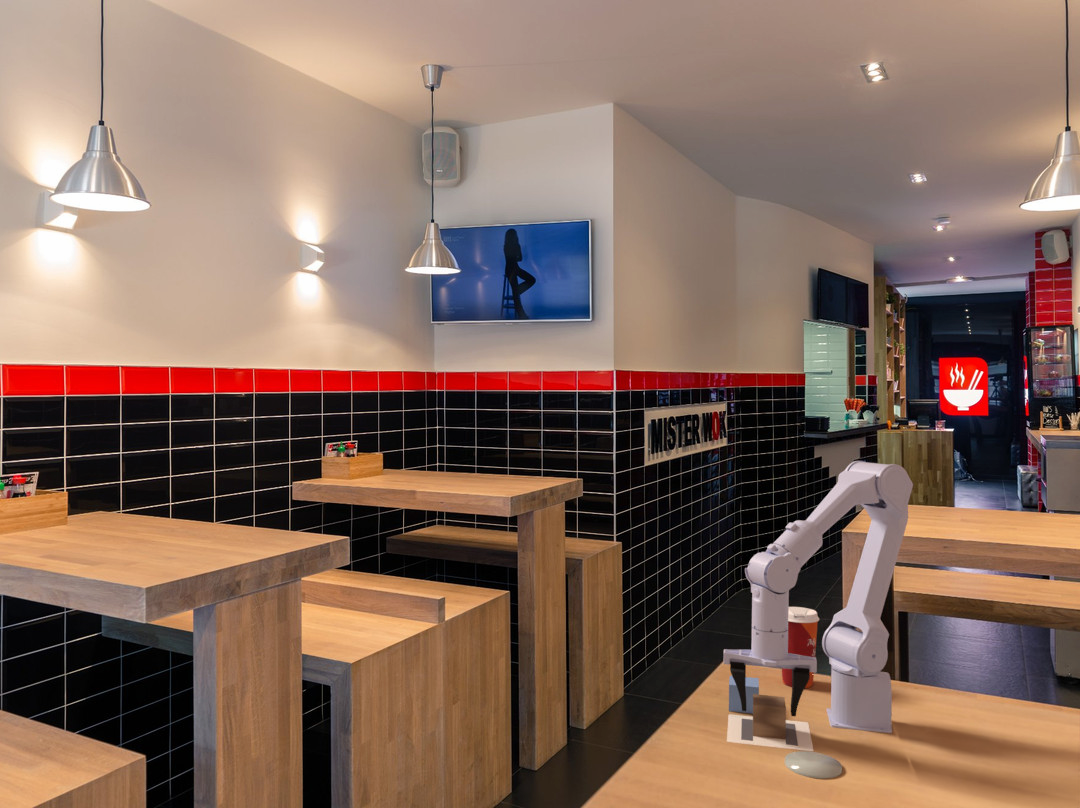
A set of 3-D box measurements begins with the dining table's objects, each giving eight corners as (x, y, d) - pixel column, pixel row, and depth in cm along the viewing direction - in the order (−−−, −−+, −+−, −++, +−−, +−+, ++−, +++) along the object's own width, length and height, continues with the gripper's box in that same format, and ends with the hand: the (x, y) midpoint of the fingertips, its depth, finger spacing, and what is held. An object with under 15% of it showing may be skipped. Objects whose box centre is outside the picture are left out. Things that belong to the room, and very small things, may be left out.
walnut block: (784, 727, 134) (784, 697, 134) (785, 739, 129) (785, 707, 129) (752, 724, 135) (753, 693, 135) (752, 735, 131) (753, 704, 131)
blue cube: (758, 706, 145) (758, 678, 145) (758, 716, 140) (758, 687, 140) (729, 703, 146) (729, 675, 146) (728, 713, 141) (729, 684, 141)
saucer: (838, 760, 123) (838, 754, 123) (845, 783, 115) (845, 777, 115) (783, 753, 125) (783, 748, 125) (785, 776, 117) (785, 771, 117)
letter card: (808, 724, 137) (808, 722, 137) (813, 753, 125) (813, 751, 125) (728, 715, 140) (728, 713, 140) (726, 743, 128) (726, 741, 128)
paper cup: (821, 691, 152) (822, 616, 153) (778, 688, 154) (779, 614, 154) (815, 678, 160) (816, 607, 160) (775, 675, 162) (776, 604, 162)
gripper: (723, 630, 130) (722, 715, 130) (818, 638, 127) (817, 725, 127) (724, 619, 137) (723, 700, 137) (815, 626, 134) (813, 709, 134)
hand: (768, 711), depth 132 cm, fingers open, 7 cm apart
